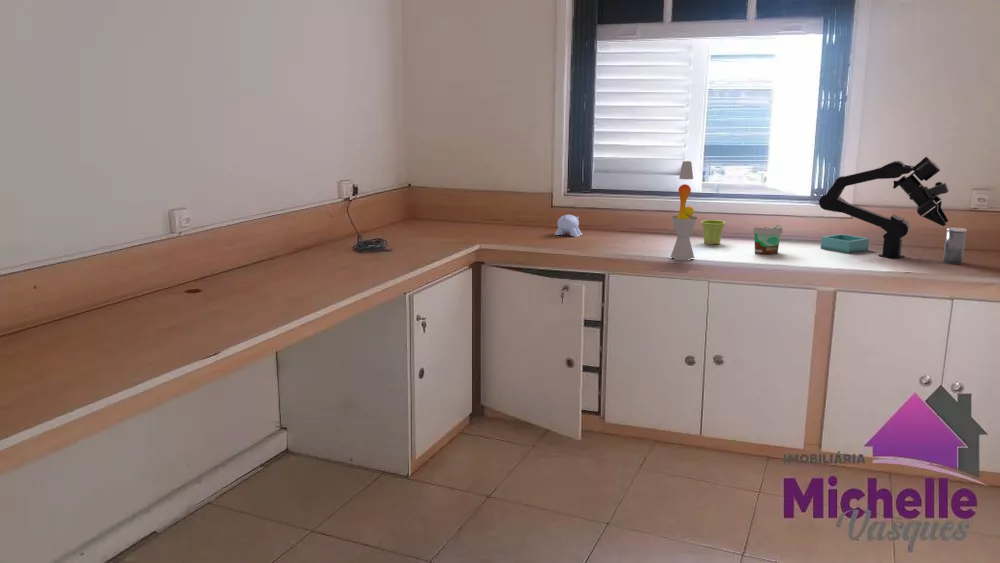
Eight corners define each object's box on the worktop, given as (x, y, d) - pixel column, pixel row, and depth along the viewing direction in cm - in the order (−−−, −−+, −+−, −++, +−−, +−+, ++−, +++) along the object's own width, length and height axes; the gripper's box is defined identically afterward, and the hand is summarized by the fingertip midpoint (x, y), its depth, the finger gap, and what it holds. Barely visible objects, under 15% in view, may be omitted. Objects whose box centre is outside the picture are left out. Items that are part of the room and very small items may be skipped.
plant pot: (727, 242, 324) (728, 221, 322) (719, 246, 316) (721, 224, 314) (704, 240, 329) (705, 219, 327) (696, 244, 321) (697, 222, 319)
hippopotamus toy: (586, 232, 348) (587, 210, 346) (576, 238, 335) (576, 215, 333) (562, 231, 352) (563, 209, 350) (551, 236, 339) (552, 214, 337)
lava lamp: (667, 259, 291) (672, 161, 283) (671, 254, 300) (676, 159, 292) (693, 261, 288) (698, 162, 280) (696, 256, 296) (701, 160, 288)
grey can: (956, 265, 280) (960, 230, 277) (938, 262, 285) (942, 228, 282) (966, 263, 283) (970, 229, 280) (948, 260, 288) (952, 226, 285)
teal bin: (848, 253, 300) (849, 241, 299) (820, 248, 310) (821, 237, 309) (868, 250, 307) (869, 238, 306) (840, 245, 316) (841, 234, 315)
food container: (763, 256, 296) (765, 229, 293) (751, 253, 301) (753, 227, 299) (788, 253, 301) (790, 227, 299) (775, 250, 307) (777, 224, 304)
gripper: (932, 177, 274) (964, 212, 271) (937, 172, 289) (968, 205, 286) (903, 198, 280) (935, 232, 277) (910, 192, 295) (940, 225, 292)
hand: (946, 223), depth 283 cm, fingers open, 9 cm apart
